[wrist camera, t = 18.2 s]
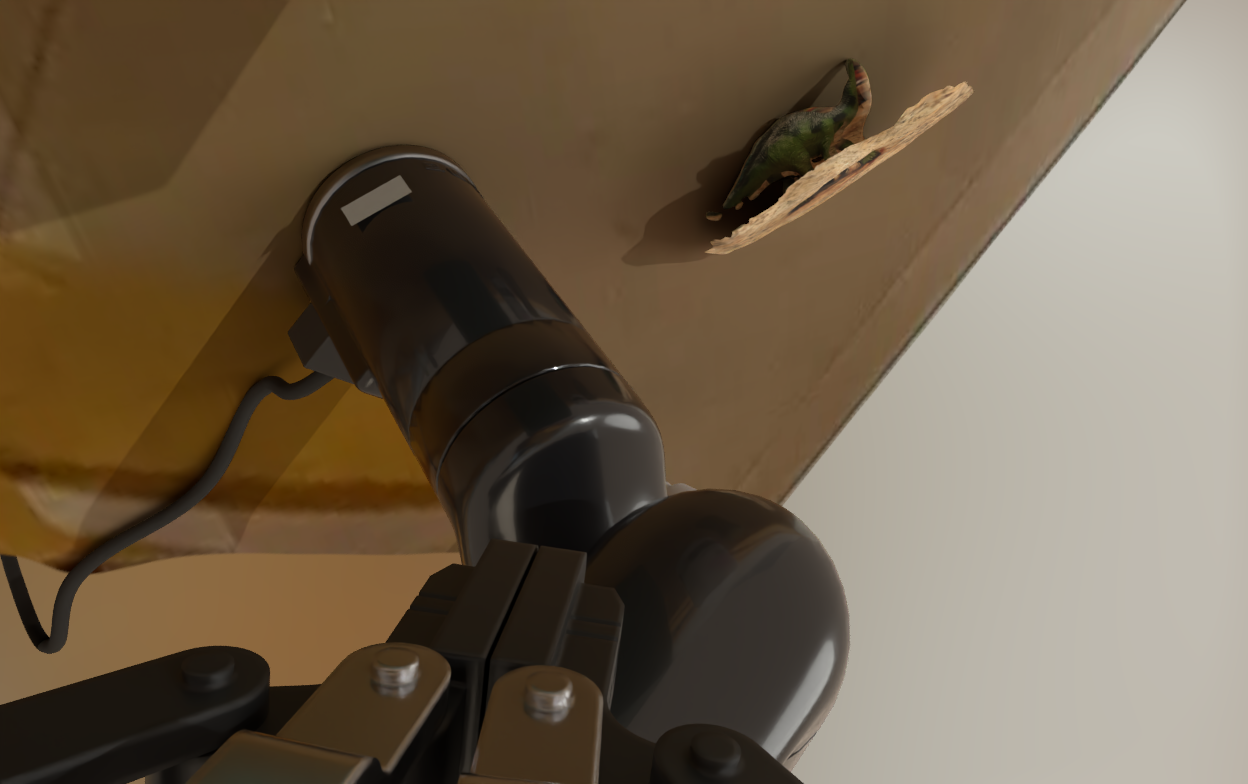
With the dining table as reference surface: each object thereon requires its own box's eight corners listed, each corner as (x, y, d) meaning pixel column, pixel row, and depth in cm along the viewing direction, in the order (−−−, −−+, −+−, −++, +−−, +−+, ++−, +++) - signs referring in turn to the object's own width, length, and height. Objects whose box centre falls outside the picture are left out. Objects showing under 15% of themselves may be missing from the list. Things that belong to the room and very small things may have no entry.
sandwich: (736, 188, 71) (781, 277, 70) (635, 158, 59) (687, 264, 57) (955, 34, 62) (1013, 132, 61) (889, -39, 50) (959, 81, 48)
